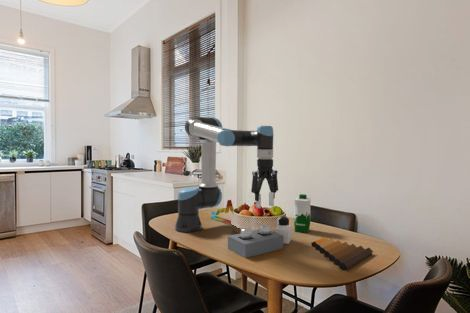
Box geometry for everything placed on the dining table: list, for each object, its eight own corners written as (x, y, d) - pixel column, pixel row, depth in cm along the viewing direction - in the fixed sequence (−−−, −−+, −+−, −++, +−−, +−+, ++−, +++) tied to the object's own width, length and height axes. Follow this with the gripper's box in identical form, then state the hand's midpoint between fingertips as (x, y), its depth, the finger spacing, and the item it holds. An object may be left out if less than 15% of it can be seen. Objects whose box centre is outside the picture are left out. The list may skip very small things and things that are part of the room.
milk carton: (311, 229, 173) (311, 194, 172) (308, 233, 164) (309, 197, 164) (295, 227, 176) (296, 193, 175) (292, 231, 168) (293, 196, 167)
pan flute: (347, 272, 116) (372, 255, 133) (347, 263, 115) (373, 248, 133) (292, 255, 133) (321, 242, 151) (293, 247, 133) (321, 236, 151)
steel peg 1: (238, 239, 138) (238, 228, 138) (247, 237, 141) (247, 227, 141) (244, 242, 134) (244, 231, 134) (253, 240, 137) (253, 229, 137)
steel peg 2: (257, 235, 144) (257, 225, 144) (265, 233, 147) (265, 223, 147) (264, 238, 140) (264, 227, 140) (272, 236, 143) (272, 226, 143)
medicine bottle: (291, 239, 154) (291, 216, 153) (288, 244, 147) (288, 219, 146) (277, 238, 156) (277, 215, 156) (274, 242, 149) (274, 218, 149)
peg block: (227, 248, 140) (227, 235, 140) (264, 240, 153) (264, 228, 152) (245, 258, 129) (245, 244, 129) (283, 248, 141) (283, 235, 141)
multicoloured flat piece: (210, 219, 198) (210, 196, 197) (214, 218, 200) (214, 196, 199) (240, 229, 174) (240, 203, 174) (244, 228, 176) (244, 202, 176)
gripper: (252, 159, 133) (252, 210, 134) (286, 158, 145) (286, 205, 145) (243, 158, 140) (243, 207, 141) (275, 157, 151) (275, 203, 152)
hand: (264, 206), depth 143 cm, fingers open, 7 cm apart
